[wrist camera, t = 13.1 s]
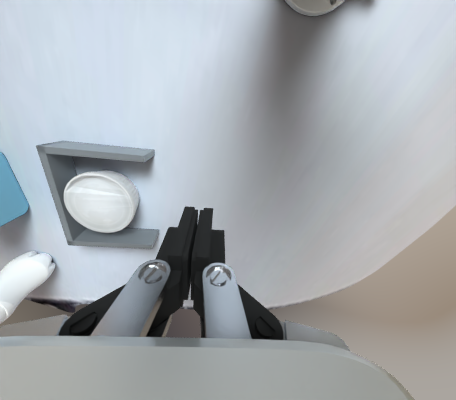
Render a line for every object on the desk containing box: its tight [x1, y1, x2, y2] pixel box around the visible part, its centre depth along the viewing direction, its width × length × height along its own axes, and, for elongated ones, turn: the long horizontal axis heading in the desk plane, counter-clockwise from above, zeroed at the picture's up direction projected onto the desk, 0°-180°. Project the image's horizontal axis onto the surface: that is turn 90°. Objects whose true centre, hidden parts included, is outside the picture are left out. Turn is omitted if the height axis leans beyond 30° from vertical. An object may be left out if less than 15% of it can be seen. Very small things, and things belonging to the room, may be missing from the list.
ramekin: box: [64, 170, 139, 233], centre depth 33 cm, size 11×11×5 cm
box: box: [36, 141, 159, 249], centre depth 33 cm, size 15×18×5 cm
